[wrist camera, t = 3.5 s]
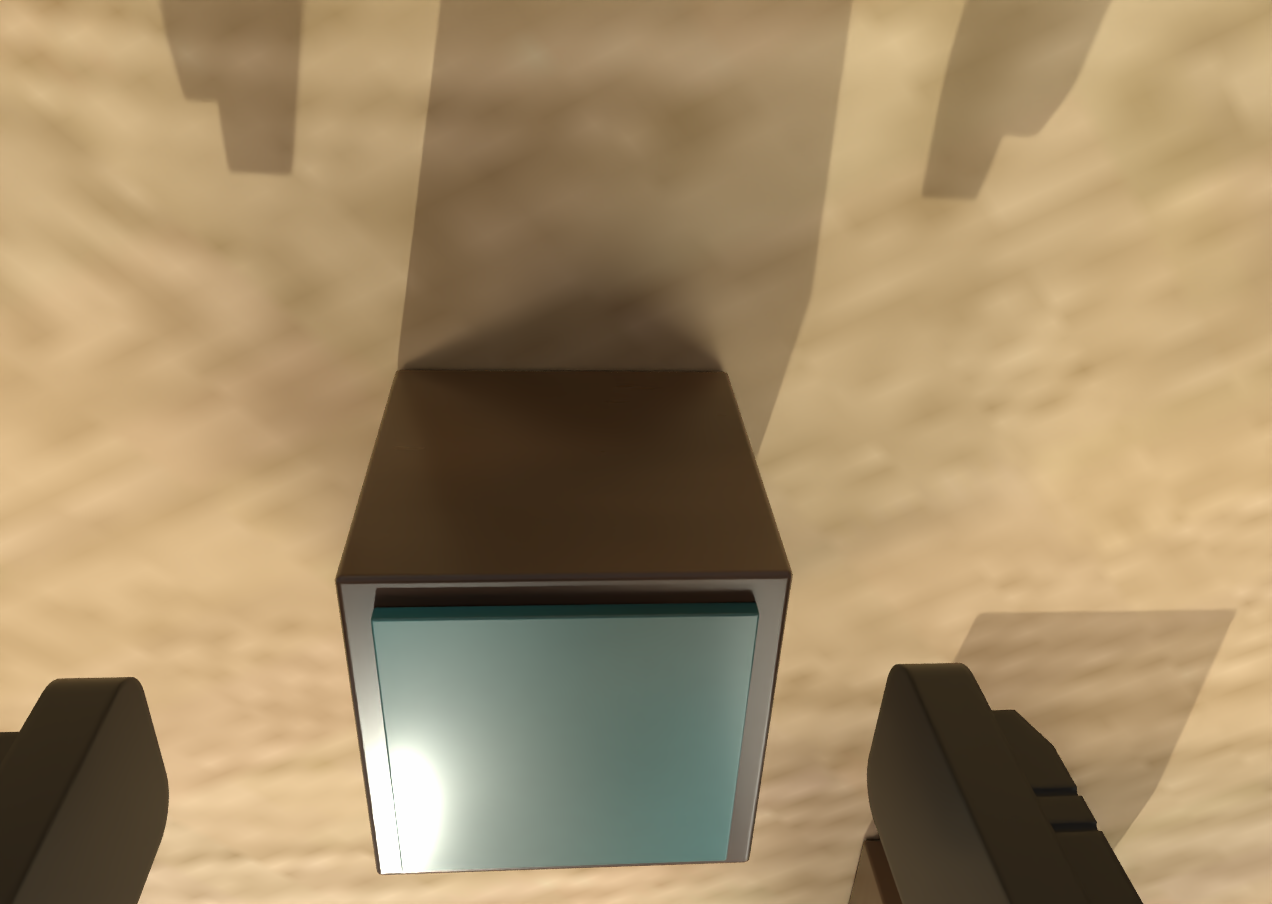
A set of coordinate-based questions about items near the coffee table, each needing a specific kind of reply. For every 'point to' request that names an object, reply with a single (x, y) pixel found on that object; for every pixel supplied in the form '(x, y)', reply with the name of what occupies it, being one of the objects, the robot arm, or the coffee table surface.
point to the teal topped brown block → (562, 621)
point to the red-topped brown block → (874, 877)
